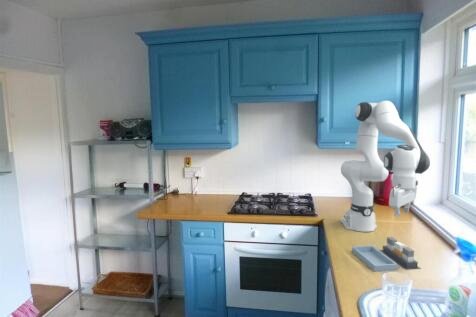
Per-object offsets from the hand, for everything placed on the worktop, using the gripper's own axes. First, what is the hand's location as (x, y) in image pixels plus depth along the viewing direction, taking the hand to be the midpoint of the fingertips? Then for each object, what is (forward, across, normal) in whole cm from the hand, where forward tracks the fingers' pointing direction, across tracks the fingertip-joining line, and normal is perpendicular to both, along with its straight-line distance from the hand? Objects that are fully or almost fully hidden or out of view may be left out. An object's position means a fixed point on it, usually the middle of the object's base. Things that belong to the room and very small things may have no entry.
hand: (401, 214), depth 141 cm
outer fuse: (+20, -3, -5) cm, 21 cm away
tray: (+22, -10, +7) cm, 25 cm away
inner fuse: (+20, +4, +5) cm, 21 cm away
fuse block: (+21, 0, 0) cm, 21 cm away
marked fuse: (+20, 0, 0) cm, 21 cm away
